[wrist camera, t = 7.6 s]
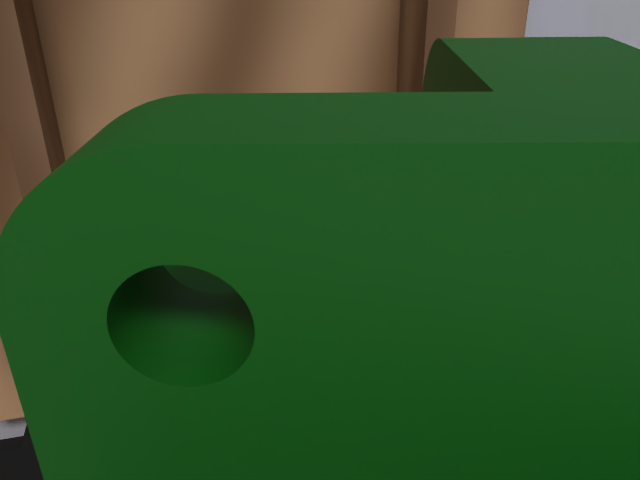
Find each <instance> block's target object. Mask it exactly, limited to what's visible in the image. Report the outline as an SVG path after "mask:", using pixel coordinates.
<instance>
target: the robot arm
mask: <svg viewBox="0 0 640 480" xmlns="http://www.w3.org/2000/svg"><path fill="white" fill-rule="evenodd" d="M0 480H44V479H43V475H42V472H41V469H40V466H39V462H38V459H37V456H36V452H35V449H34V446H33V442H32V439H31V436H30V432H29V429H28V426H26V429H25V433H24V436H21V437H15V438H9V439H2V440H0Z"/></svg>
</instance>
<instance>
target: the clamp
mask: <svg viewBox="0 0 640 480" xmlns="http://www.w3.org/2000/svg"><path fill="white" fill-rule="evenodd" d="M0 336H1V339H2V343H3V346H4V349H5V353H6V356H7V359H8V363H9V366H10V369H11V373H12V376H13V379H14V383H15V386H16V389H17V393H18V396H19V399H20V402H21V406H22V409H23V412H24V416H25V419H26V422H27V426H28V429H29V432H30V436H31V439H32V442H33V446H34V449H35V452H36V456H37V459H38V462H39V466H40V469H41V472H42V475H43V479H44V480H640V49H637V48H635V47H632V46H629V45H627V44H624V43H622V42H619V41H616V40H614V39H611V38H608V37H516V38H437V39H436V40H435V41H434V42H433V44H432V47H431V49H430V52H429V56H428V60H427V64H426V69H425V75H424V81H423V89H422V92H343V93H197V94H180V95H175V96H169V97H163V98H160V99H156V100H153V101H149V102H147V103H144V104H142V105H139V106H137V107H135V108H133V109H131V110H129V111H127V112H125V113H124V114H122V115H120V116H119V117H117V118H116V119H114V120H113V121H112V122H110V123H109V124H108V125H106V126H105V127H104V128H103V129H102V130H101V131H99V132H98V133H97V134H96V135H95V136H94V137H92V138H91V139H90V140H89V141H88V142H87V143H86V144H84V145H83V146H82V147H81V148H80V149H79V150H77V151H76V152H75V153H74V154H73V155H72V156H70V157H69V158H68V159H67V160H66V161H65V162H63V163H62V164H61V165H60V166H59V167H58V168H56V169H55V170H54V171H53V172H52V173H51V174H50V175H48V176H47V177H46V178H45V179H44V180H43V181H41V182H40V183H39V184H38V185H37V186H36V187H35V188H34V189H33V190H32V191H31V192H29V193H28V194H27V195H26V196H25V197H24V199H23V200H22V201H21V202H20V204H19V205H18V206H17V207H16V208H15V210H14V211H13V213H12V214H11V216H10V218H9V219H8V221H7V222H6V224H5V226H4V228H3V231H2V233H1V235H0Z"/></svg>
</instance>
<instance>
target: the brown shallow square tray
mask: <svg viewBox="0 0 640 480" xmlns="http://www.w3.org/2000/svg"><path fill="white" fill-rule="evenodd" d="M528 5H529V0H0V235H1V233H2V231H3V228H4V226H5V224H6V222H7V221H8V219H9V218H10V216H11V214H12V213H13V211H14V210H15V208H16V207H17V206H18V205H19V204H20V202H21V201H22V200H23V199H24V197H25V196H26V195H27V194H28V193H29V192H31V191H32V190H33V189H34V188H35V187H36V186H37V185H38V184H39V183H40V182H41V181H43V180H44V179H45V178H46V177H47V176H48V175H50V174H51V173H52V172H53V171H54V170H55V169H56V168H58V167H59V166H60V165H61V164H62V163H63V162H65V161H66V160H67V159H68V158H69V157H70V156H72V155H73V154H74V153H75V152H76V151H77V150H79V149H80V148H81V147H82V146H83V145H84V144H86V143H87V142H88V141H89V140H90V139H91V138H92V137H94V136H95V135H96V134H97V133H98V132H99V131H101V130H102V129H103V128H104V127H105V126H106V125H108V124H109V123H110V122H112V121H113V120H114V119H116V118H117V117H119V116H120V115H122V114H124V113H125V112H127V111H129V110H131V109H133V108H135V107H137V106H139V105H142V104H144V103H147V102H149V101H153V100H156V99H160V98H163V97H169V96H175V95H180V94H197V93H343V92H422V89H423V81H424V75H425V69H426V64H427V60H428V56H429V52H430V49H431V47H432V44H433V42H434V41H435V40H436V39H437V38H516V37H524V34H525V27H526V20H527V12H528ZM22 417H25V416H24V412H23V409H22V406H21V402H20V399H19V396H18V393H17V389H16V386H15V383H14V379H13V376H12V373H11V369H10V366H9V363H8V359H7V356H6V353H5V349H4V346H3V343H2V339H1V336H0V421H3V420H9V419H15V418H22Z"/></svg>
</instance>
